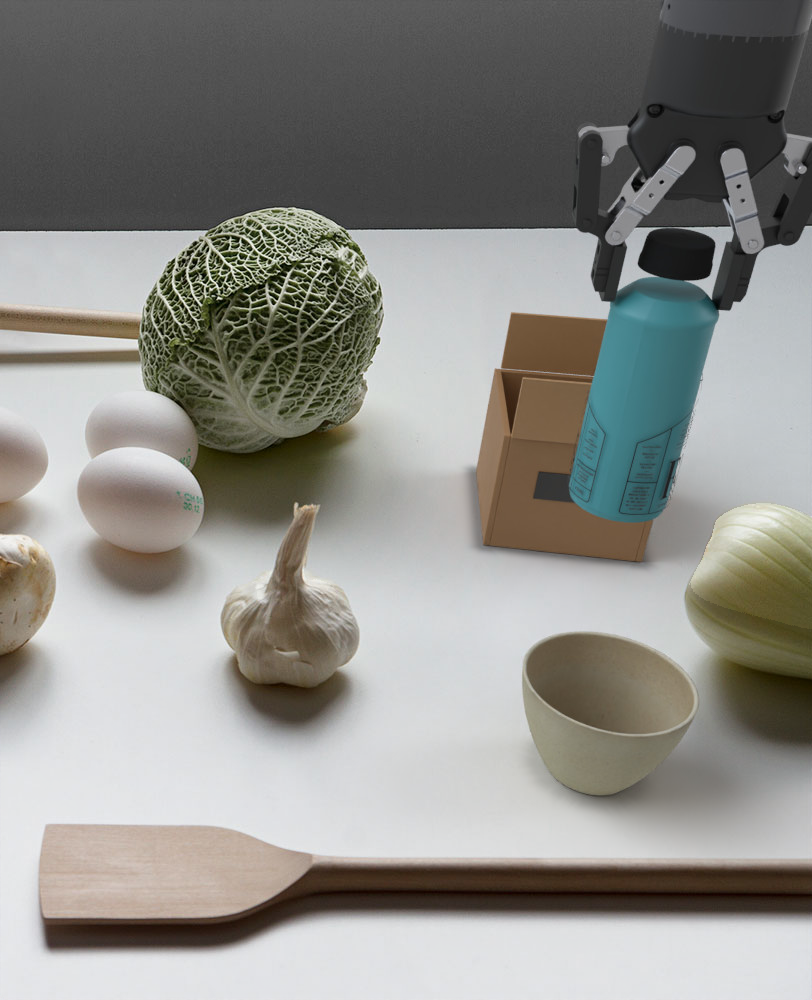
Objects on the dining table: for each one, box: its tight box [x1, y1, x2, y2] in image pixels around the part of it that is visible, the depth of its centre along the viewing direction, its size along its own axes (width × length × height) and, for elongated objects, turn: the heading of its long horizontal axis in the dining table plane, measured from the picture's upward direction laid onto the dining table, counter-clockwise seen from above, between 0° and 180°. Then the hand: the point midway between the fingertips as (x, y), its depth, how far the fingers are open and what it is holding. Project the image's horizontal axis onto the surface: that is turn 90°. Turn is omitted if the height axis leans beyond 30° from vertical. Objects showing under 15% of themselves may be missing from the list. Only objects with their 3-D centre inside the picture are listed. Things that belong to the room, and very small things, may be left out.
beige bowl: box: [521, 630, 700, 796], centre depth 80 cm, size 10×10×7 cm
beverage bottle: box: [567, 227, 720, 523], centre depth 83 cm, size 6×7×20 cm
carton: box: [475, 311, 654, 563], centre depth 104 cm, size 12×13×15 cm
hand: (663, 300), depth 80 cm, fingers closed on beverage bottle, 6 cm apart
